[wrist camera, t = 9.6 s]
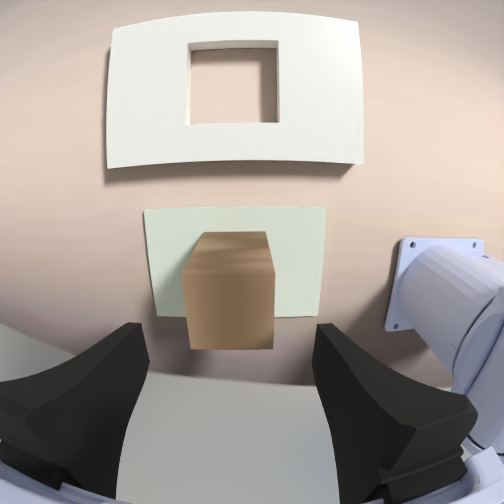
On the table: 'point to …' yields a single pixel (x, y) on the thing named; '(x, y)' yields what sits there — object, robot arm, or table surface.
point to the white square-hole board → (235, 134)
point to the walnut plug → (230, 292)
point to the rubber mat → (238, 220)
